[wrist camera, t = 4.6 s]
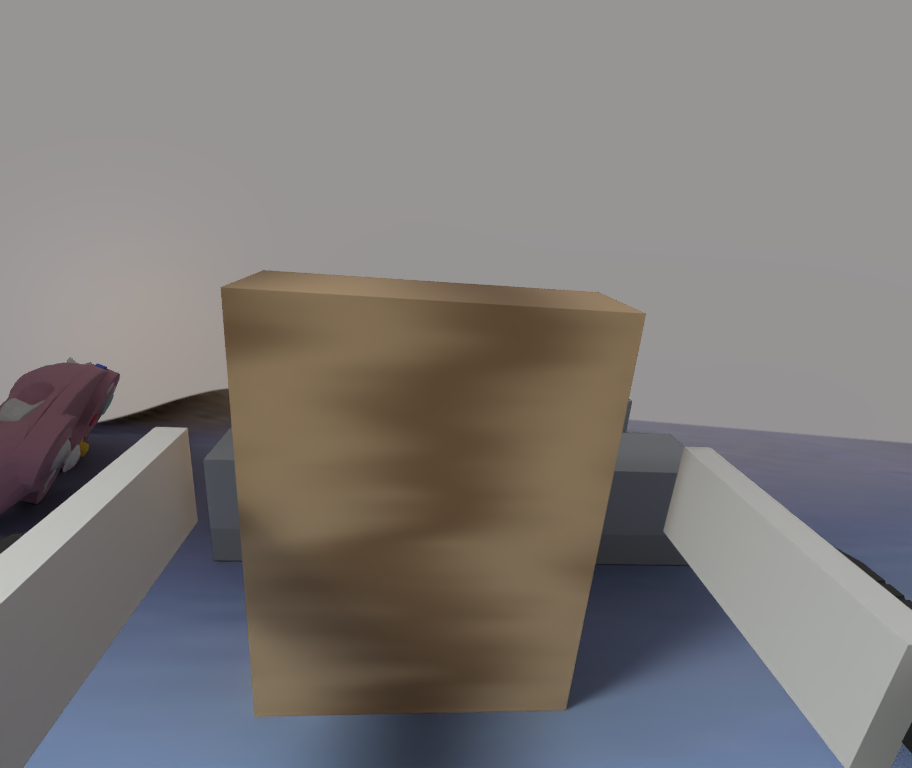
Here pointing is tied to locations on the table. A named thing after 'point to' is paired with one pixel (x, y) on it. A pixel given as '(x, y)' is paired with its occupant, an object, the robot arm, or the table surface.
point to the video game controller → (49, 426)
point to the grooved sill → (625, 525)
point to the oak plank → (420, 486)
